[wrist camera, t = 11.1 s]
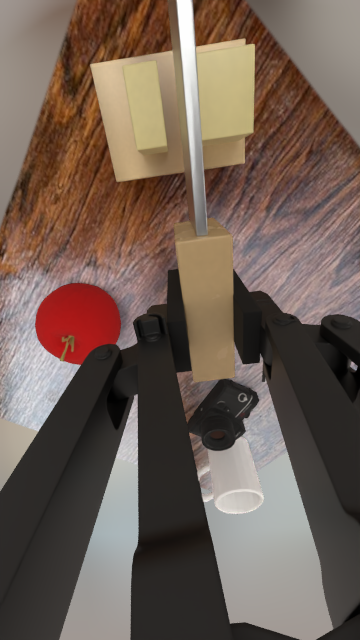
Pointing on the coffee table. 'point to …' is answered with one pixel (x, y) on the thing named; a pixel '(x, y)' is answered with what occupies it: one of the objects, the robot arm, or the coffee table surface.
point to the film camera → (223, 415)
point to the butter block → (226, 94)
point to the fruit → (77, 321)
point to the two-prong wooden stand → (167, 163)
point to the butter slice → (145, 107)
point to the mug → (233, 479)
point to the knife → (200, 224)
